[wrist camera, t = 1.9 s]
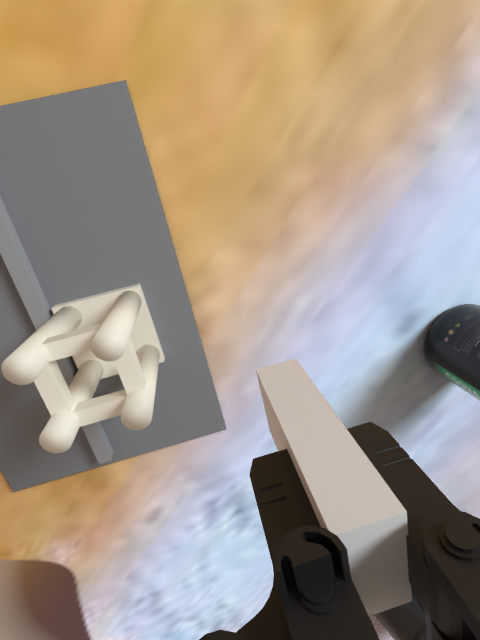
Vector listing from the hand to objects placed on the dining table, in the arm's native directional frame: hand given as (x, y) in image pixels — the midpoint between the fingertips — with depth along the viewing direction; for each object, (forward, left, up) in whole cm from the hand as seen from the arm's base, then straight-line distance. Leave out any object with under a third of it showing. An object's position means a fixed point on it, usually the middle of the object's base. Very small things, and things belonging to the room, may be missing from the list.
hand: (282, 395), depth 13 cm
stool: (0, +9, -14) cm, 17 cm away
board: (+2, +12, -15) cm, 19 cm away
